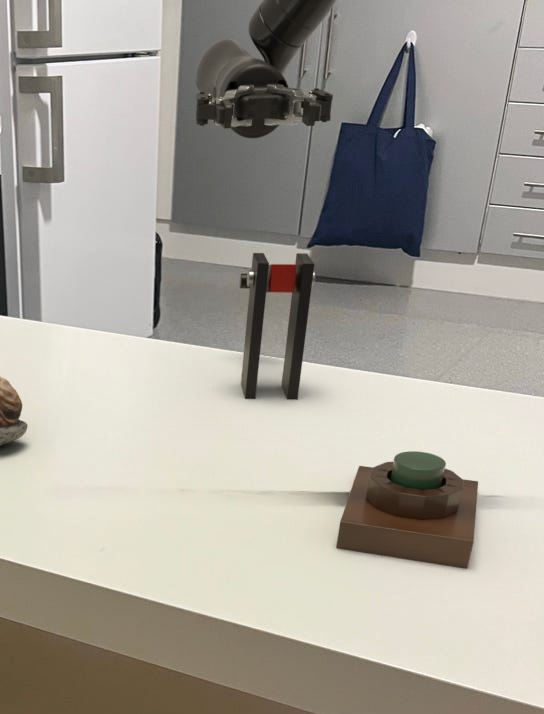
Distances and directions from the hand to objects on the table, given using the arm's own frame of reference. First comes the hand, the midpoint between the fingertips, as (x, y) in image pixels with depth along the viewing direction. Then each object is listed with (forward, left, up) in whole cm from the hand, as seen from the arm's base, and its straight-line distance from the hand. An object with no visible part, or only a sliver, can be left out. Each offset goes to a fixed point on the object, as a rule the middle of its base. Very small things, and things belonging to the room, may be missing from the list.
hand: (270, 115), depth 104 cm
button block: (+17, +44, -24) cm, 53 cm away
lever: (+8, +13, -14) cm, 21 cm away
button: (+17, +44, -20) cm, 52 cm away
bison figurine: (+40, +12, -24) cm, 48 cm away
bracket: (+10, +17, -24) cm, 31 cm away
